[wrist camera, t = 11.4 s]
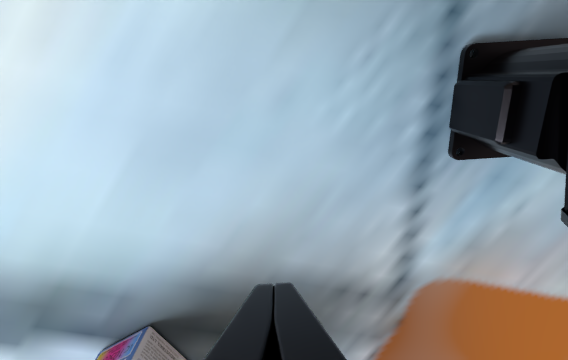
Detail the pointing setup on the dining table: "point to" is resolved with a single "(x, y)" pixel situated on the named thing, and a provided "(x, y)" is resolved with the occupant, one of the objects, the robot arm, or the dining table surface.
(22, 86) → the dining table surface
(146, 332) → the ink cartridge box
